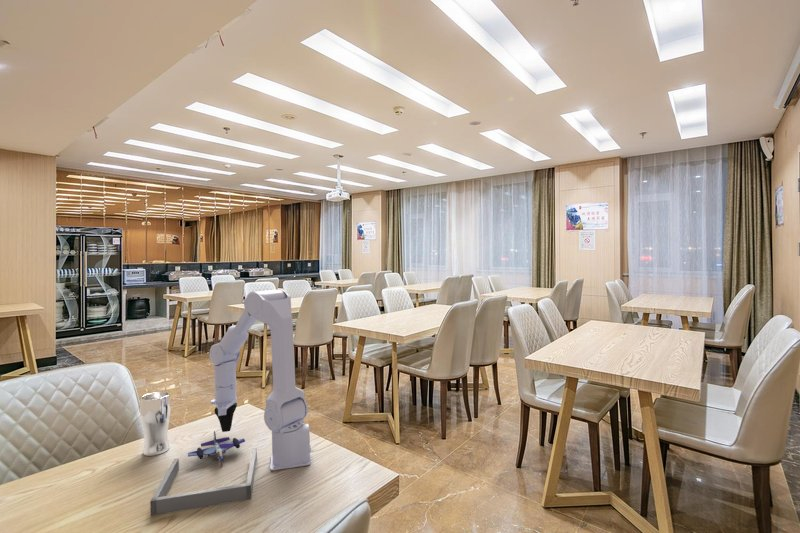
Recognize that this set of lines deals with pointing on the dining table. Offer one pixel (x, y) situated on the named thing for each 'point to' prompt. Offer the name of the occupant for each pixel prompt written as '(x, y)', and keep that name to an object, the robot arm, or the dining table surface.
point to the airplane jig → (199, 492)
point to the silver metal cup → (155, 422)
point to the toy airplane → (216, 447)
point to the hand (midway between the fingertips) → (226, 430)
